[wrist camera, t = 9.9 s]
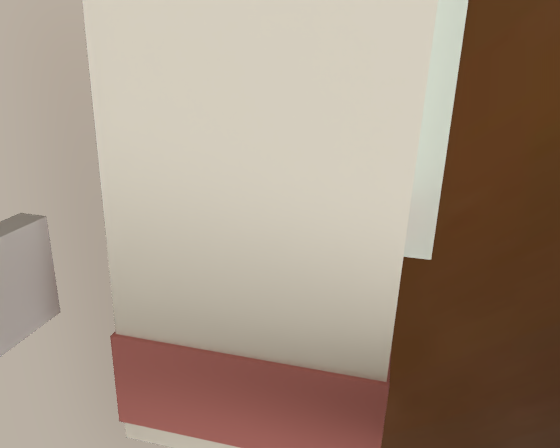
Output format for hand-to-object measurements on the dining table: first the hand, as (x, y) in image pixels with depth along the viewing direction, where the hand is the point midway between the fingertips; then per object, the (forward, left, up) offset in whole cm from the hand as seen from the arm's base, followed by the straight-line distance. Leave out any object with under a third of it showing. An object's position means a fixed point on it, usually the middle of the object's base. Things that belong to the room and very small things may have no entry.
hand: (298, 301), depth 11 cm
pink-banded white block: (+5, 0, -8) cm, 10 cm away
